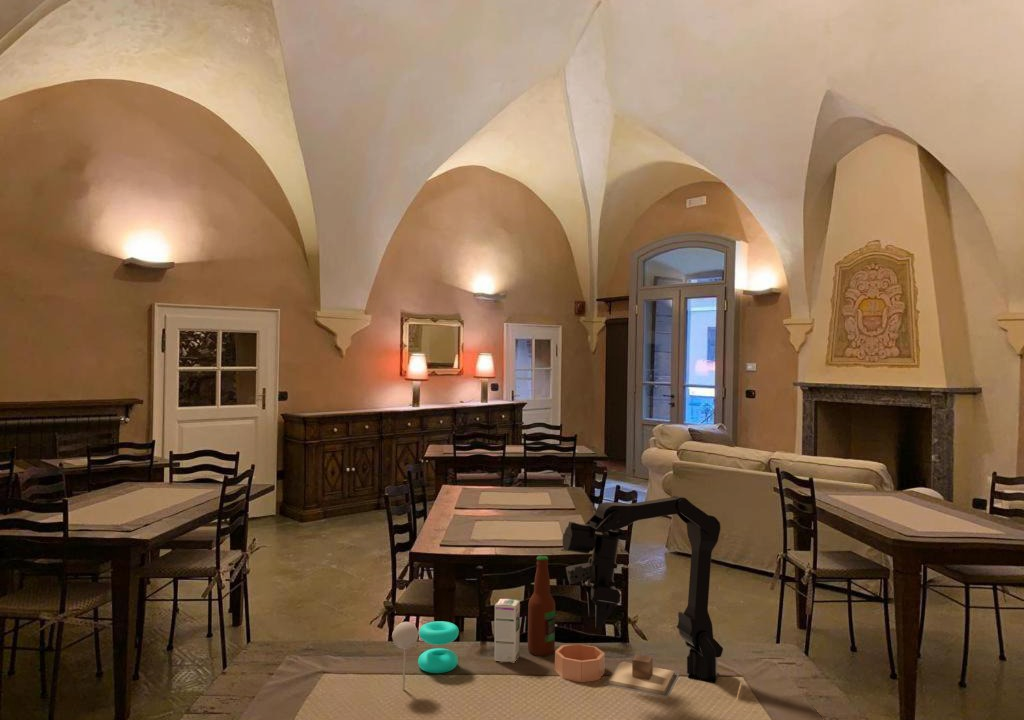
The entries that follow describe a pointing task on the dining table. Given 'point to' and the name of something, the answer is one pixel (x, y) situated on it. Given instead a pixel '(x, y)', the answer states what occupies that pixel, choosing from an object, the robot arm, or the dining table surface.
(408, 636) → the lollipop
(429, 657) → the donuts
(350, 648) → the dining table surface
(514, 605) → the syrup box
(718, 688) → the dining table surface
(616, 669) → the mat
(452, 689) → the dining table surface
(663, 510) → the robot arm
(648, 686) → the lid
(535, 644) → the bottle
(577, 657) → the bowl
